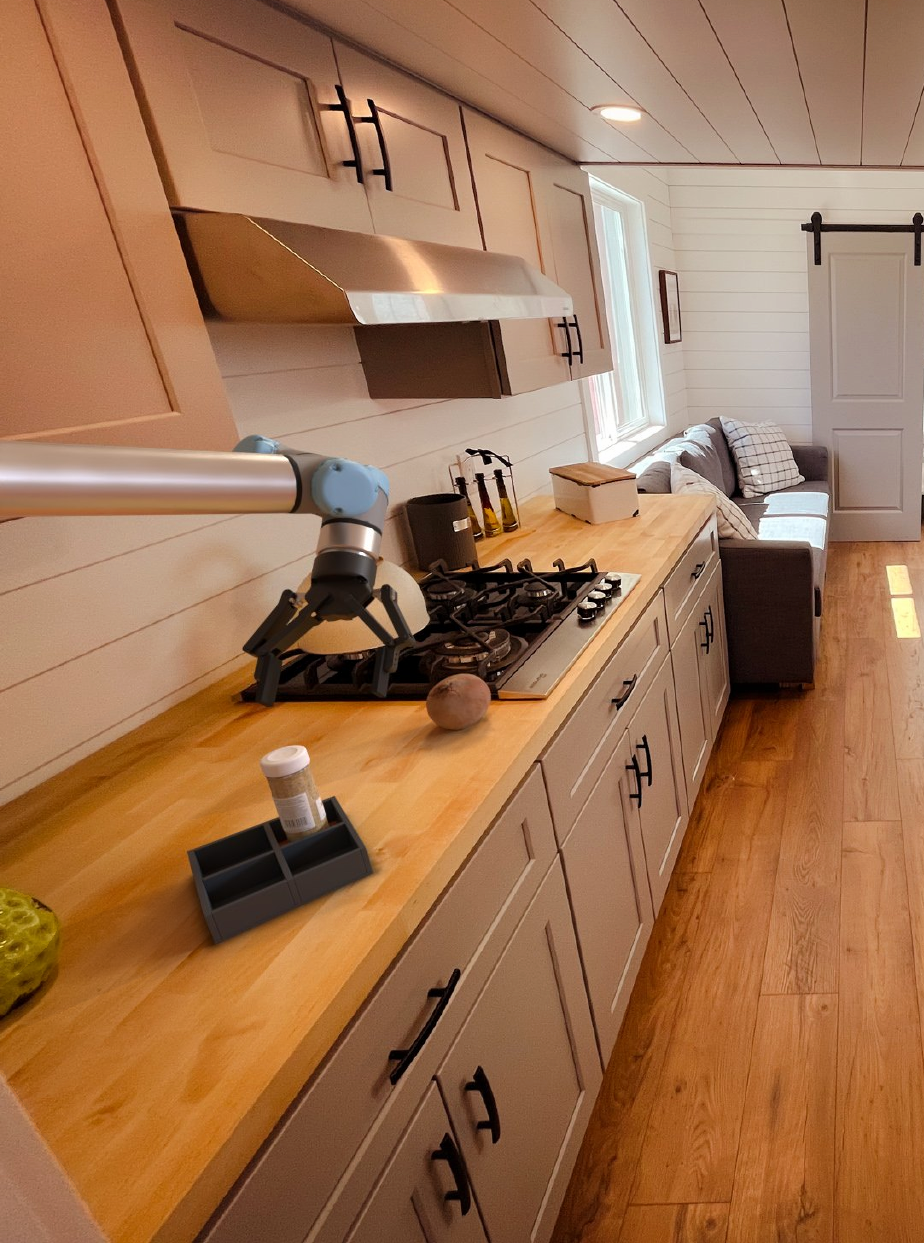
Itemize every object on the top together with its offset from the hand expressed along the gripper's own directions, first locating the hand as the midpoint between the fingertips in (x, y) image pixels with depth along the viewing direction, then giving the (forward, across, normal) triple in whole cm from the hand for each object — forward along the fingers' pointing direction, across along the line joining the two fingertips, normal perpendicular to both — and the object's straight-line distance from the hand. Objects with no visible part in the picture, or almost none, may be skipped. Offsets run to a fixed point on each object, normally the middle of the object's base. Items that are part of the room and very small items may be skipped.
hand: (322, 699), depth 96 cm
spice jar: (+18, 0, -4) cm, 19 cm away
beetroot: (-2, -10, -24) cm, 26 cm away
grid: (+22, +1, 0) cm, 22 cm away
